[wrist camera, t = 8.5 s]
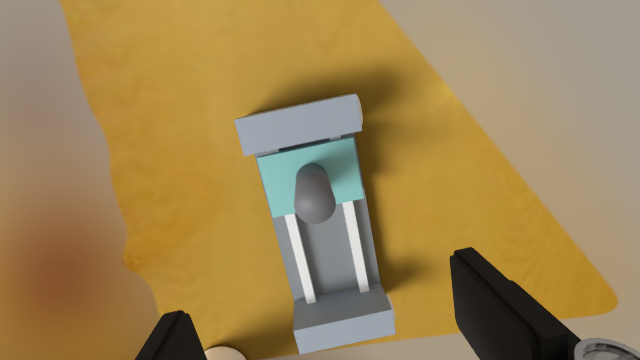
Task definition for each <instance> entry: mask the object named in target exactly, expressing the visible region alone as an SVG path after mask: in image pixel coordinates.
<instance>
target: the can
mask: <svg viewBox="0 0 640 360" xmlns="http://www.w3.org/2000/svg"><path fill="white" fill-rule="evenodd" d="M205 355H206V358H207V360H246V359H245V357H244V356H243V355H242V354H241V353H240V352H239V351H238V350H236V349H234V348H231V347H227V346H218V347H214V348H211V349H208V350H206V351H205Z"/></svg>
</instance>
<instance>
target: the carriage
mask: <svg viewBox="0 0 640 360" xmlns="http://www.w3.org/2000/svg"><path fill="white" fill-rule="evenodd" d="M257 161H258V165H259V169H260V172H261V176H262V180H263V184H264V187H265V191H266V195H267V198H268V202H269V206H270V210H271V213H272V217H273V218H275V217H280V216H284V215H289V214H294V213H296V214H297V215H298V217H299V218H300V219H301V220H303V221H305V222H307V223H310V224H319V223H323V222H325V221H327V220H328V219H329V218H330V217H331V216H332V215H333V213H334V211H335V208H336V204H340V203H345V202H349V201H354V200H359V199H363V198H364V196H363V191H362V185H361V179H360V174H359V168H358V162H357V156H356V151H355V145H354V139H353V137H352V136H350V137H346V138H341V139H336V140H332V141H327V142H322V143H318V144H313V145H308V146H304V147H299V148H294V149H290V150H285V151H280V152H276V153H271V154H266V155H262V156H258V157H257Z"/></svg>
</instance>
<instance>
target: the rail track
mask: <svg viewBox="0 0 640 360" xmlns="http://www.w3.org/2000/svg"><path fill="white" fill-rule="evenodd" d="M234 121H235V125H236V128H237V132H238V136H239V139H240V143H241V146H242V150H243V153H244V156H246V155H251V154H255V158H256V162H257V165H258V161H257V157H258V156H262V155H266V154H271V153H276V152H280V151H285V150H290V149H294V148H299V147H304V146H308V145H313V144H318V143H322V142H327V141H332V140H336V139H341V138H346V137H350V136H352V137H353V139H354V145H355V151H356V156H357V162H358V168H359V174H360V179H361V185H362V191H363V196H364V198H363V199H359V200H354V201H349V202H345V203H340V204H336V208H335V211H334V213H333V215H332V216H331V217H330V218H329V219H328V220H327V221H325V222H323V223H319V224H310V223H307V222H305V221H303V220H301V219H300V218H299V217H298V215H297V214H296V213H294V214H289V215H284V216H280V217H275V218H273V217H272V213H271V210H270V206H269V202H268V198H267V195H266V191H265V187H264V184H263V180H262V176H261V172H260V169H259V165H258V169H259V173H260V176H261V180H262V184H263V188H264V191H265V195H266V199H267V202H268V206H269V210H270V214H271V217H272V221H273V225H274V228H275V232H276V236H277V239H278V243H279V247H280V251H281V254H282V258H283V262H284V265H285V269H286V273H287V277H288V280H289V284H290V288H291V291H292V295H293V299H294V321H293V332H294V336H295V339H296V343H297V346H298V350H299V354H300V355H301V354H305V353H310V352H315V351H319V350H324V349H328V348H333V347H338V346H342V345H347V344H352V343H356V342H361V341H366V340H370V339H375V338H379V337H384V336H389V335H393V334H396V332H395V326H394V320H395V312H394V307H393V304H392V301H391V298H390V296H389V294H385V292H384V290H383V288H382V285H381V283H380V277H379V271H378V266H377V260H376V254H375V248H374V243H373V237H372V231H371V225H370V219H369V214H368V208H367V202H366V196H365V191H364V185H363V179H362V173H361V167H360V162H359V156H358V150H357V144H356V138H355V133H354V132H358V131H362V126H361V125H362V124H363V116H362V109H361V104H360V101H359V98H358V96H357V95H356V94H344V95H340V96H335V97H330V98H326V99H321V100H316V101H312V102H307V103H302V104H298V105H293V106H288V107H284V108H279V109H274V110H270V111H265V112H260V113H256V114H251V115H247V116H244V117H241V118H238V119H235V120H234Z"/></svg>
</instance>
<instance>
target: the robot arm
mask: <svg viewBox="0 0 640 360" xmlns="http://www.w3.org/2000/svg"><path fill="white" fill-rule="evenodd" d="M450 268H451V278H452V289H453V299H454V309H455V319H456V323H457V325H458V327H459V329H460V331H461V332H462V334H463V335H464V337H465V338H466V340H467V341H468V343H469V344H470V346H471V347H472V349H473V350H474V351H475V353H476V354H477V356H478V357H479V359H480V360H640V352H638V351H637V350H635V349H633V348H631V347H629V346H626V345H625V344H622V343H619V342H616V341H613V340H607V339H601V338H589V339H586V340H580V339H579V338H578V337H577V336H576V335H575V334H574V333H572V332H571V331H570V330H569V329H568V328H567V327H566V326H564V325H563V324H562V323H561V322H560V321H559V320H558V319H557V318H555V317H554V316H553V315H552V314H551V313H550V312H549V311H547V310H546V309H545V308H544V307H543V306H542V305H541V304H539V303H538V302H537V301H536V300H535V299H534V298H533V297H531V296H530V295H529V294H528V293H527V292H526V291H525V290H523V289H522V288H521V287H520V286H519V285H518V284H517V283H515V282H514V281H511V280H508V279H507V278H506V277H505V276H504V275H503V274H502V273H500V272H499V271H498V270H497V269H496V268H495V267H494V266H493V265H492V264H490V263H489V262H488V261H487V260H486V259H485V258H484V257H483V256H481V255H480V254H479V253H478V252H477V251H476V250H475V249H474V248H472V247H469V248H465V249H460V250H455V251H454V255H453V256H450ZM135 360H207V358H206V355H205V352H204V350H203V347H202V345H201V342H200V340H199V337H198V335H197V332H196V330H195V327H194V325H193V322H192V320H191V317H190V315H189V314H188V313H184V311H182V310H179V311H174V312H170V313H165V314H164V315H163V316H162V317H161V319H160V320H159V322H158V323H157V325H156V327H155V328H154V330H153V331H152V333H151V335H150V336H149V338H148V339H147V341H146V343H145V344H144V346H143V348H142V349H141V351H140V352H139V354H138V355H137V357H136V359H135Z"/></svg>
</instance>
